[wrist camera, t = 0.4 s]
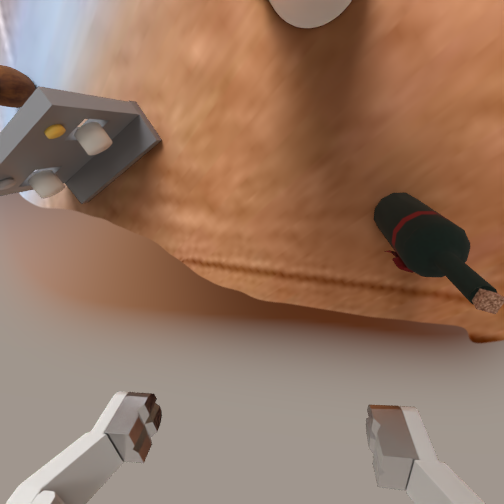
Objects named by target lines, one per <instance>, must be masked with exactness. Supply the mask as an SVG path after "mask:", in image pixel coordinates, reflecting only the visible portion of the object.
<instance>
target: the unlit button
mask: <svg viewBox="0 0 504 504" xmlns="http://www.w3.org/2000/svg"><path fill="white" fill-rule="evenodd" d="M28 183H29V184H30V185H31V186H32V188H33V189H34V190H35V191H36V192H37V194H38V195H39V196H40V197H41V198H48V197H51V196H53V195H55V194H57V193H59V192H60V191H62V190H63V189H64V188H65V185H64V184H63V183H62V182H61V180H60V179H59V178H58V177H57V175H56V174H55V173H54V172H53V171H52V170H44V171H41V172H39V173H36V174H35V175H33V176H32V177H30V178H29V179H28Z"/></svg>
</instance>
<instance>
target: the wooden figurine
mask: <svg viewBox="0 0 504 504" xmlns="http://www.w3.org/2000/svg"><path fill="white" fill-rule="evenodd" d="M35 90H36V88H35V85H34V83H33V82H32V81H31V79H30V78H29V77H27V76H26V75H24V74H23V73H21V72H19V71H18V70H16V69H13V68H11V67H7V66H2V65H0V105H1V106H7V107H16V108H18V107H22V106H23V105H24V103H25V102H26V101H27V100H28V98H29V97H30V96H31V95H32V94H33V92H34V91H35Z"/></svg>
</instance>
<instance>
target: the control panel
mask: <svg viewBox="0 0 504 504" xmlns="http://www.w3.org/2000/svg"><path fill="white" fill-rule="evenodd" d="M84 119H88V120H87V121H86V122H85V123H84V124H83V125H85V124H87V123H90V122H98V123H99V124H100V125H101V126H102V128H103V129H104V131H105V132H106V133H107V135H108V136H109V137H110V139H111V140H112V145H111V146H110V147H109V148H108V149H106V150H105V151H103V152H101V153H99V154H96V155H88V154H87V152H86V151H85V150H84V148H83V147H82V146H81V144H80V143H79V142H78V140H77V139H76V138H75V136H74V133H75V132H76V130H77V129H78V128H80V127H77V126H78V125H79V124H80V123H81V122H82V121H83V120H84ZM83 125H82V126H83ZM161 140H162V139H161V138H160V136H159V135H158V134H157V132H156V131H155V129H154V128H153V126H152V125H151V123H150V122H149V120H148V119H147V117H146V116H145V114H144V113H143V111H142V110H141V108H140V107H139V105H138V104H137V102H134V101H129V102H126V101H120V100H115V99H109V98H103V97H97V96H91V95H85V94H80V93H74V92H68V91H62V90H56V89H50V88H45V87H39V86H38V87H37V89H36V90H35V91H34V92H33V94H32V95H31V96H30V97H29V98H28V100H27V101H26V102H25V103H24V105H23V106H22V107H21V108H20V109H19V111H18V112H17V113H16V114H15V116H14V117H13V118H12V119H11V120H10V122H9V123H8V124H7V125H6V127H5V128H4V129H3V130H2V131H1V133H0V196H3V195H8V194H13V193H18V192H23V191H28V190H33V188H32V186H31V185H30V184H29V183H28V179H29V178H30V177H32V176H33V175H35V174H36V173H39V172H41V171H44V170H52V171H53V172H54V173H55V174H56V175H57V177H58V178H59V179H60V180H61V182H62V183H65V184H66V185H67V186H68V188H69V189H70V190H71V191H72V193H73V194H74V195H75V196H76V198H77V199H78V200H79V201H80V203H81V204H83V203H86V202H89V201H90V200H91V199H92V198H93V197H95V196H96V195H97V194H98V193H99V192H101V191H102V190H103V189H104V188H105V187H106V186H108V185H109V184H110V183H111V182H112V181H114V180H115V179H116V178H117V177H118V176H120V175H121V174H122V173H123V172H124V171H126V170H127V169H128V168H129V167H130V166H132V165H133V164H134V163H135V162H136V161H138V160H139V159H140V158H141V157H142V156H144V155H145V154H146V153H147V152H148V151H149V150H151V149H152V148H153V147H154V146H155V145H157V144H158V143H159V142H160V141H161ZM38 169H39V170H38ZM34 170H38V171H36V172H33V171H34Z"/></svg>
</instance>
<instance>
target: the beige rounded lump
mask: <svg viewBox="0 0 504 504" xmlns="http://www.w3.org/2000/svg"><path fill="white" fill-rule="evenodd" d="M74 136H75V138H76V139H77V140H78V142H79V143H80V144H81V146H82V147H83V148H84V150H85V151H86V152H87V154H88V155H96V154H99V153H101V152H103V151H105V150H106V149H108V148H109V147H110V146H111V145H112V140H111V139H110V137H109V136H108V135H107V133H106V132H105V131H104V129H103V128H102V126H101V125H100V124H99V123H98V122H90V123H87V124H85V125H83V126H81V127H80V128H78V129H77V130H76V132H75V133H74Z"/></svg>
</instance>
